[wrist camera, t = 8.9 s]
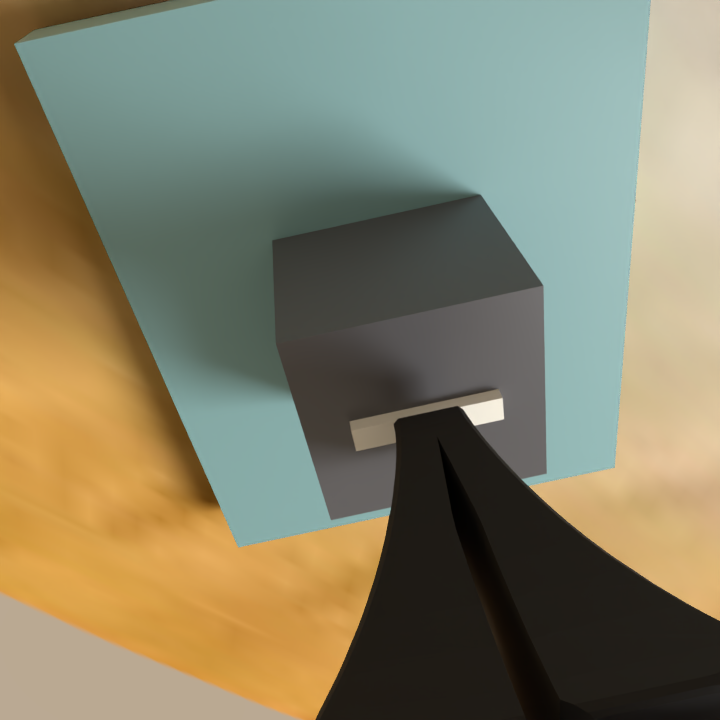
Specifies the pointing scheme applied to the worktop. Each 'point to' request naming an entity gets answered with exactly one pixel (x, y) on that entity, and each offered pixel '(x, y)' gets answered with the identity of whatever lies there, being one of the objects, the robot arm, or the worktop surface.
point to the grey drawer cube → (409, 341)
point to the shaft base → (347, 190)
